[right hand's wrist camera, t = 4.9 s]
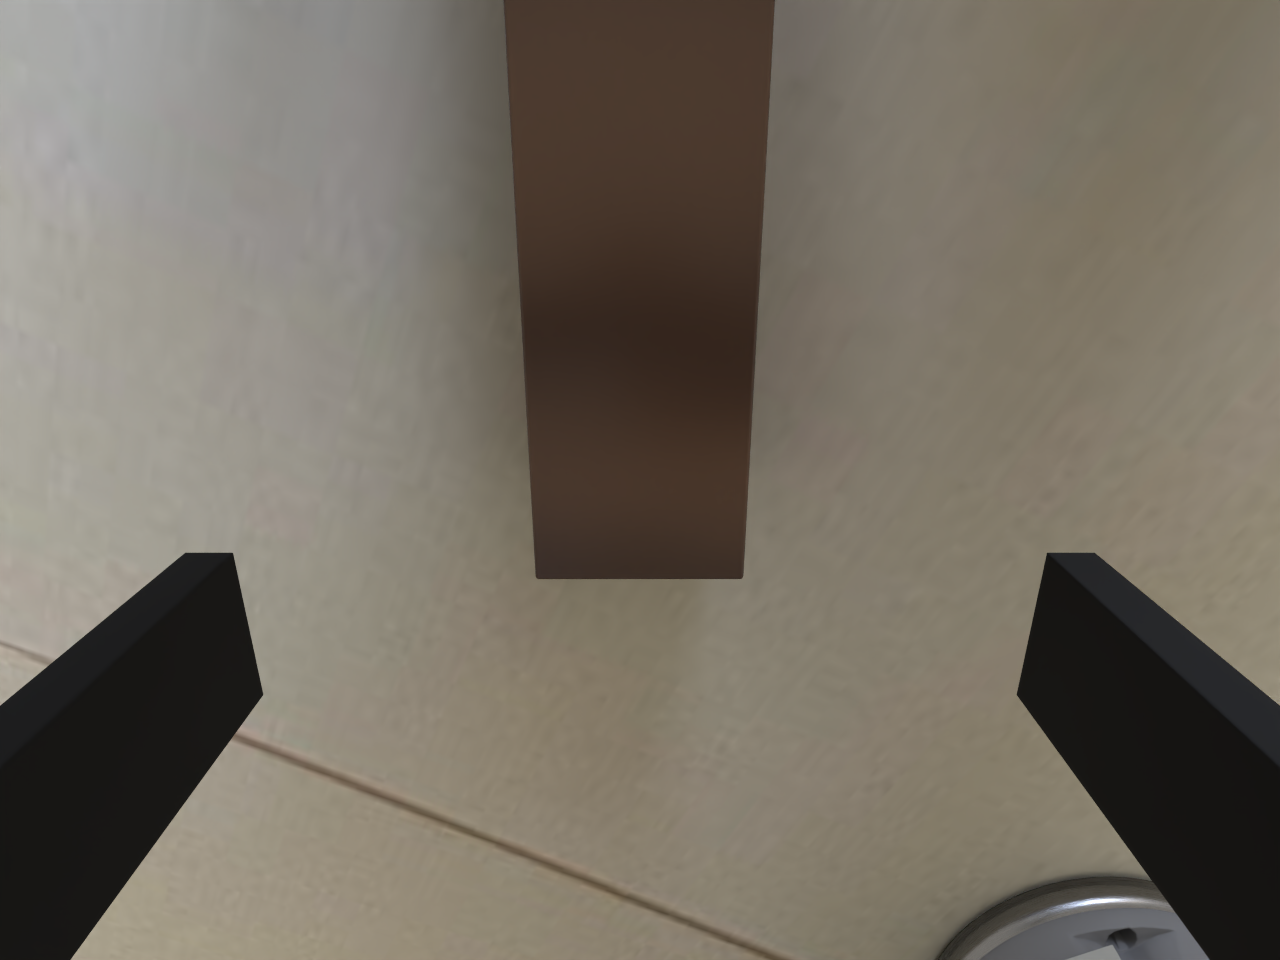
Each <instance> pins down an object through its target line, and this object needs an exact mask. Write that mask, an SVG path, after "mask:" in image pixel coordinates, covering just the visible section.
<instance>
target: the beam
mask: <svg viewBox="0 0 1280 960" xmlns="http://www.w3.org/2000/svg"><path fill="white" fill-rule="evenodd" d="M774 8H775V0H504V16H505V34H506V52H507V70H508V88H509V106H510V124H511V142H512V160H513V178H514V196H515V214H516V231H517V249H518V267H519V285H520V303H521V321H522V339H523V357H524V375H525V393H526V411H527V429H528V447H529V465H530V483H531V501H532V519H533V537H534V555H535V573H536V578H537V579H742V578H743V573H744V554H745V536H746V518H747V500H748V481H749V463H750V445H751V427H752V409H753V390H754V372H755V354H756V336H757V317H758V299H759V281H760V263H761V245H762V226H763V208H764V190H765V172H766V153H767V135H768V117H769V99H770V80H771V62H772V44H773V26H774Z"/></svg>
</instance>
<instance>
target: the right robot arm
mask: <svg viewBox="0 0 1280 960" xmlns="http://www.w3.org/2000/svg"><path fill="white" fill-rule="evenodd" d="M262 696H263V691H262V687H261V682H260V677H259V673H258V668H257V663H256V659H255V654H254V649H253V645H252V640H251V635H250V631H249V626H248V621H247V617H246V612H245V607H244V603H243V598H242V593H241V589H240V584H239V579H238V575H237V570H236V565H235V561H234V556H233V553H185V554H183V555H182V556H181V557H180V558H179V559H177V560H176V561H175V562H174V563H172V564H171V565H170V566H169V567H168V568H166V569H165V570H164V571H163V572H162V573H160V574H159V575H158V576H157V577H156V578H154V579H153V580H152V581H151V582H149V583H148V584H147V585H146V586H145V587H143V588H142V589H141V590H140V591H139V592H137V593H136V594H135V595H134V596H133V597H131V598H130V599H129V600H128V601H126V602H125V603H124V604H123V605H122V606H120V607H119V608H118V609H117V610H116V611H114V612H113V613H112V614H111V615H110V616H108V617H107V618H106V619H105V620H103V621H102V622H101V623H100V624H99V625H97V626H96V627H95V628H94V629H93V630H91V631H90V632H89V633H88V634H87V635H85V636H84V637H83V638H82V639H80V640H79V641H78V642H77V643H76V644H74V645H73V646H72V647H71V648H70V649H68V650H67V651H66V652H65V653H64V654H62V655H61V656H60V657H59V658H57V659H56V660H55V661H54V662H53V663H51V664H50V665H49V666H48V667H47V668H45V669H44V670H43V671H42V672H40V673H39V674H38V675H37V676H36V677H34V678H33V679H32V680H31V681H30V682H28V683H27V684H26V685H25V686H24V687H22V688H21V689H20V690H19V691H17V692H16V693H15V694H14V695H13V696H11V697H10V698H9V699H8V700H7V701H5V702H4V703H3V704H2V705H1V706H0V960H71V958H72V957H73V955H74V954H75V953H76V951H77V950H78V949H79V947H80V946H81V944H82V943H83V942H84V940H85V939H86V938H87V936H88V935H89V933H90V932H91V931H92V929H93V928H94V927H95V925H96V924H97V922H98V921H99V920H100V918H101V917H102V916H103V914H104V913H105V911H106V910H107V909H108V907H109V906H110V905H111V903H112V902H113V900H114V899H115V898H116V896H117V895H118V894H119V892H120V891H121V890H122V888H123V887H124V885H125V884H126V883H127V881H128V880H129V879H130V877H131V876H132V874H133V873H134V872H135V870H136V869H137V868H138V866H139V865H140V863H141V862H142V861H143V859H144V858H145V857H146V855H147V854H148V852H149V851H150V850H151V848H152V847H153V846H154V844H155V843H156V841H157V840H158V839H159V837H160V836H161V835H162V833H163V832H164V830H165V829H166V828H167V826H168V825H169V824H170V822H171V821H172V819H173V818H174V817H175V815H176V814H177V813H178V811H179V810H180V808H181V807H182V806H183V804H184V803H185V802H186V800H187V799H188V797H189V796H190V795H191V793H192V792H193V791H194V789H195V788H196V786H197V785H198V784H199V782H200V781H201V780H202V778H203V777H204V775H205V774H206V773H207V771H208V770H209V769H210V767H211V766H212V765H213V763H214V762H215V760H216V759H217V758H218V756H219V755H220V754H221V752H222V751H223V749H224V748H225V747H226V745H227V744H228V743H229V741H230V740H231V738H232V737H233V736H234V734H235V733H236V732H237V730H238V729H239V727H240V726H241V725H242V723H243V722H244V721H245V719H246V718H247V716H248V715H249V714H250V712H251V711H252V710H253V708H254V707H255V705H256V704H257V703H258V701H259V700H260V699H261V697H262ZM1017 696H1018V697H1019V699H1020V700H1021V701H1022V703H1023V704H1024V705H1025V707H1026V708H1027V710H1028V711H1029V712H1030V714H1031V715H1032V716H1033V718H1034V719H1035V721H1036V722H1037V723H1038V725H1039V726H1040V727H1041V729H1042V730H1043V732H1044V733H1045V734H1046V736H1047V737H1048V738H1049V740H1050V741H1051V743H1052V744H1053V745H1054V747H1055V748H1056V749H1057V751H1058V752H1059V754H1060V755H1061V756H1062V758H1063V759H1064V760H1065V762H1066V763H1067V765H1068V766H1069V767H1070V769H1071V770H1072V771H1073V773H1074V774H1075V775H1076V777H1077V778H1078V780H1079V781H1080V782H1081V784H1082V785H1083V786H1084V788H1085V789H1086V791H1087V792H1088V793H1089V795H1090V796H1091V797H1092V799H1093V800H1094V802H1095V803H1096V804H1097V806H1098V807H1099V808H1100V810H1101V811H1102V813H1103V814H1104V815H1105V817H1106V818H1107V819H1108V821H1109V822H1110V824H1111V825H1112V826H1113V828H1114V829H1115V830H1116V832H1117V833H1118V835H1119V836H1120V837H1121V839H1122V840H1123V841H1124V843H1125V844H1126V846H1127V847H1128V848H1129V850H1130V851H1131V852H1132V854H1133V855H1134V857H1135V858H1136V859H1137V861H1138V862H1139V863H1140V865H1141V866H1142V868H1143V869H1144V870H1145V872H1146V873H1147V874H1148V876H1149V877H1150V879H1151V880H1152V881H1153V882H1151V881H1146V880H1142V879H1134V878H1126V877H1092V878H1082V879H1075V880H1069V881H1063V882H1059V883H1055V884H1051V885H1047V886H1043V887H1040V888H1037V889H1034V890H1031V891H1028V892H1026V893H1023V894H1021V895H1018V896H1016V897H1014V898H1011V899H1009V900H1007V901H1005V902H1003V903H1001V904H999V905H998V906H996V907H994V908H992V909H991V910H989V911H987V912H986V913H984V914H983V915H981V916H980V917H978V918H977V919H976V920H974V921H973V922H972V923H971V924H969V925H968V926H967V927H966V928H965V929H964V930H963V931H961V932H960V933H959V934H958V935H957V936H956V937H955V938H954V940H953V941H952V942H951V943H950V944H949V945H948V946H947V948H946V949H945V951H944V952H943V953H942V955H941V956H940V958H939V960H1280V706H1279V705H1278V704H1277V703H1276V702H1275V701H1273V700H1272V699H1271V698H1270V697H1269V696H1267V695H1266V694H1265V693H1264V692H1263V691H1261V690H1260V689H1259V688H1258V687H1256V686H1255V685H1254V684H1253V683H1252V682H1250V681H1249V680H1248V679H1247V678H1246V677H1244V676H1243V675H1242V674H1241V673H1240V672H1238V671H1237V670H1236V669H1235V668H1233V667H1232V666H1231V665H1230V664H1229V663H1227V662H1226V661H1225V660H1224V659H1223V658H1221V657H1220V656H1219V655H1218V654H1216V653H1215V652H1214V651H1213V650H1212V649H1210V648H1209V647H1208V646H1207V645H1206V644H1204V643H1203V642H1202V641H1201V640H1200V639H1198V638H1197V637H1196V636H1195V635H1193V634H1192V633H1191V632H1190V631H1189V630H1187V629H1186V628H1185V627H1184V626H1183V625H1181V624H1180V623H1179V622H1178V621H1177V620H1175V619H1174V618H1173V617H1172V616H1170V615H1169V614H1168V613H1167V612H1166V611H1164V610H1163V609H1162V608H1161V607H1160V606H1158V605H1157V604H1156V603H1155V602H1154V601H1152V600H1151V599H1150V598H1149V597H1147V596H1146V595H1145V594H1144V593H1143V592H1141V591H1140V590H1139V589H1138V588H1137V587H1135V586H1134V585H1133V584H1132V583H1131V582H1129V581H1128V580H1127V579H1126V578H1124V577H1123V576H1122V575H1121V574H1120V573H1118V572H1117V571H1116V570H1115V569H1114V568H1112V567H1111V566H1110V565H1109V564H1108V563H1106V562H1105V561H1104V560H1103V559H1101V558H1100V557H1099V556H1098V555H1097V554H1095V553H1047V556H1046V561H1045V565H1044V570H1043V575H1042V579H1041V584H1040V589H1039V593H1038V598H1037V603H1036V607H1035V612H1034V617H1033V621H1032V626H1031V631H1030V635H1029V640H1028V645H1027V649H1026V654H1025V659H1024V663H1023V668H1022V673H1021V677H1020V682H1019V687H1018V691H1017Z"/></svg>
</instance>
